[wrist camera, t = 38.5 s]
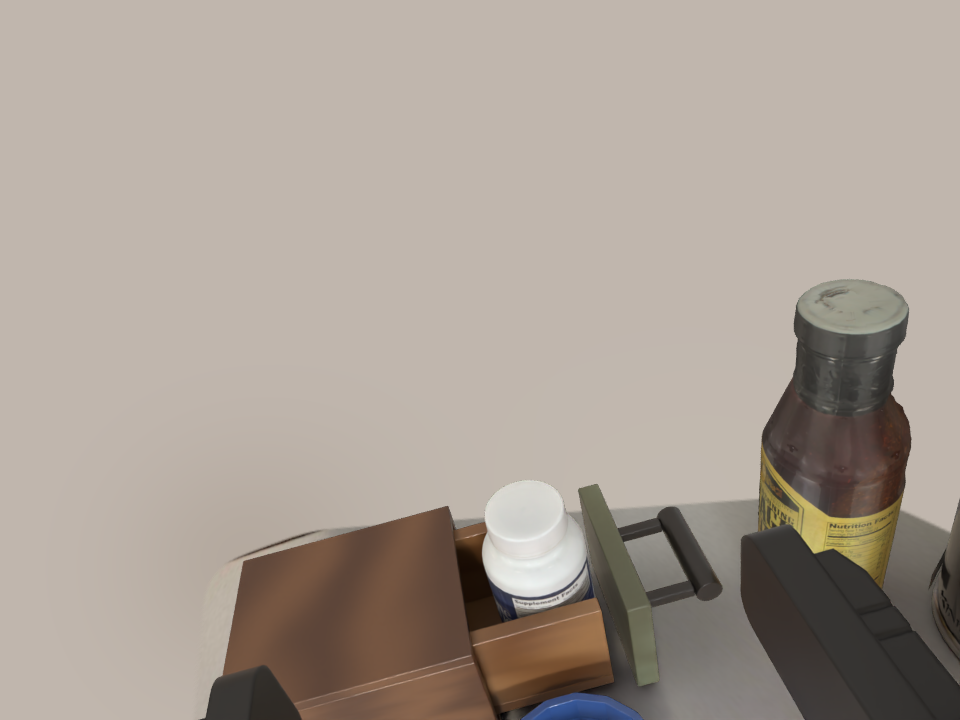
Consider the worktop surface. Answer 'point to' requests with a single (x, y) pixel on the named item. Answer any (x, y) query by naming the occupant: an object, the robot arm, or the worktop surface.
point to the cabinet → (364, 625)
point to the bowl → (582, 709)
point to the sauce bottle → (840, 426)
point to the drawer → (577, 612)
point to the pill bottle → (533, 551)
